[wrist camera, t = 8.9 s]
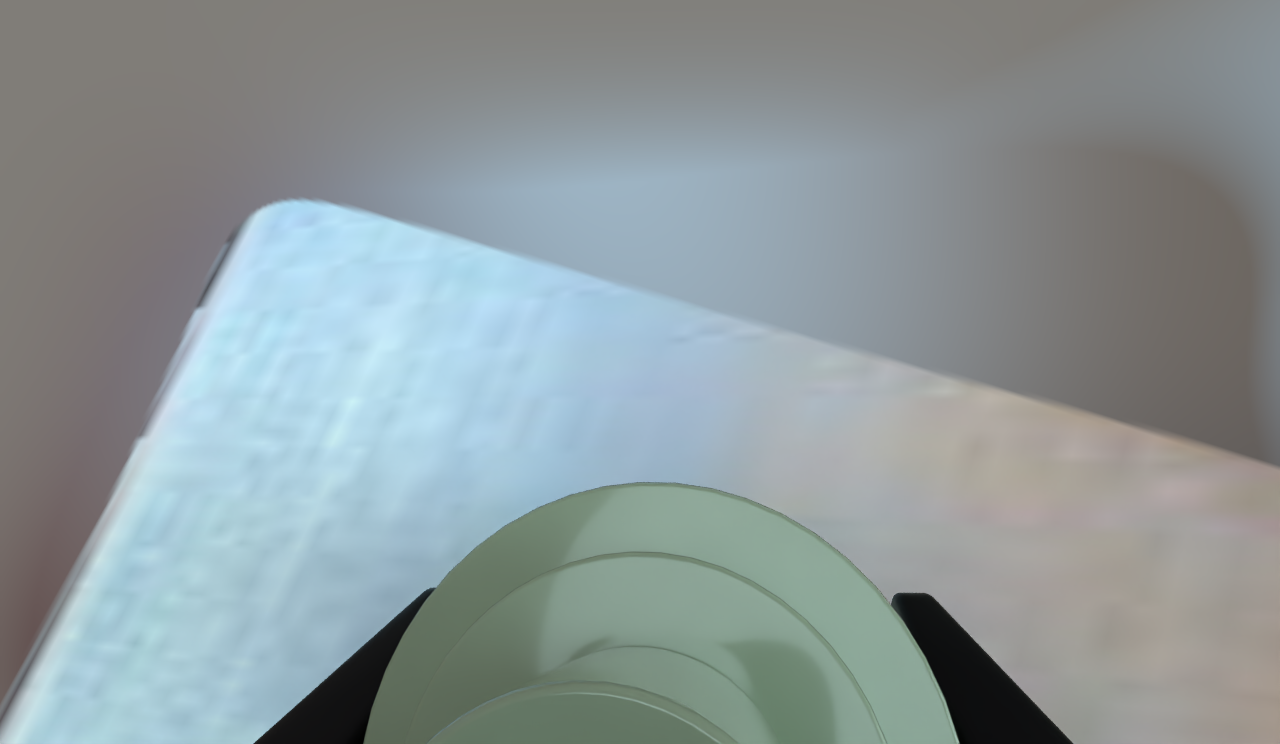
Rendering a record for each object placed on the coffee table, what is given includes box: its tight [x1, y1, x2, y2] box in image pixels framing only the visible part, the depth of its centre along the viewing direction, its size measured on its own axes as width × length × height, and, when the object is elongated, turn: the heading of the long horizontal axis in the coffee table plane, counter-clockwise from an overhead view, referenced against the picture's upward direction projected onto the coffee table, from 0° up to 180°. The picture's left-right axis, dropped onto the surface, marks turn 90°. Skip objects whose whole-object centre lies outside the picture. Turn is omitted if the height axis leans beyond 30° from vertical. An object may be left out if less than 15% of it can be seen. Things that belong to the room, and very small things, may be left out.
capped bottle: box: [363, 482, 960, 744], centre depth 9 cm, size 5×5×12 cm
